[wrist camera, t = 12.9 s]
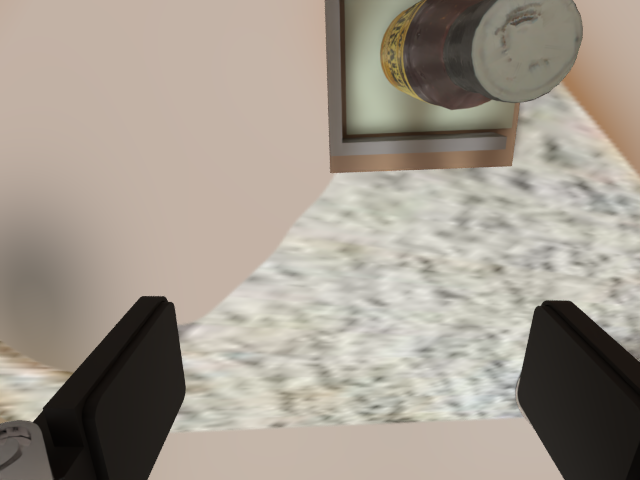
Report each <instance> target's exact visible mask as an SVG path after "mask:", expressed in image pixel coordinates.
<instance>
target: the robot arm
mask: <svg viewBox="0 0 640 480" xmlns="http://www.w3.org/2000/svg"><path fill="white" fill-rule="evenodd" d="M185 389H186V387H185V378H184V371H183V364H182V357H181V350H180V342H179V335H178V328H177V321H176V314H175V308H174V304H173V303H172V302H168V301H167V299H166V297H164V296H162V297H161V296H142V297H140V298H139V299H138V301H137V302H136V303H135V304H134V305H133V306H132V307H131V308H130V310H129V311H128V312H127V313H126V314H125V315H124V316H123V318H122V319H121V320H120V321H119V322H118V323H117V324H116V326H115V327H114V328H113V329H112V330H111V331H110V332H109V333H108V335H107V336H106V337H105V338H104V339H103V340H102V341H101V343H100V344H99V345H98V346H97V347H96V348H95V350H94V351H93V352H92V353H91V354H90V355H89V356H88V357H87V358H86V360H85V361H84V362H83V363H82V364H81V365H80V366H79V368H78V369H77V370H76V371H75V372H74V373H73V374H72V376H71V377H70V378H69V379H68V380H67V381H66V382H65V384H64V385H63V386H62V387H61V388H60V389H59V390H58V391H57V393H56V394H55V395H54V396H53V397H52V398H51V399H50V401H49V402H48V403H47V404H46V405H45V406H44V407H43V411H42V412H41V413H40V415H39V416H38V417H37V418H36V419H35V420H34V422H31V421H22V420H17V421H10V422H5V423H1V424H0V480H147V479H148V477H149V475H150V473H151V470H152V468H153V466H154V464H155V462H156V459H157V457H158V455H159V453H160V451H161V449H162V446H163V444H164V442H165V440H166V438H167V435H168V433H169V431H170V429H171V427H172V425H173V422H174V420H175V418H176V416H177V414H178V411H179V409H180V407H181V405H182V403H183V400H184V397H185ZM516 401H517V405H518V408H519V409H520V411H521V413H522V415H523V416H524V417H525V419H526V420H527V421H528V422H529V423H530V424H532V426H533V428H534V429H535V431H536V433H537V434H538V436H539V438H540V440H541V441H542V443H543V445H544V446H545V448H546V450H547V451H548V453H549V455H550V456H551V458H552V460H553V461H554V463H555V465H556V466H557V468H558V470H559V471H560V473H561V475H562V476H563V478H564V479H565V480H640V362H639V361H638V360H636V359H635V358H634V357H633V356H632V355H631V354H630V353H629V352H627V351H626V350H625V349H624V348H623V347H622V346H621V345H620V344H619V343H617V342H616V341H615V340H614V339H613V338H612V337H611V336H610V335H608V334H607V333H606V332H605V331H604V330H603V329H602V328H601V327H599V326H598V325H597V324H596V323H595V322H594V321H593V320H592V319H590V318H589V317H588V316H587V315H586V314H585V313H584V312H583V311H582V310H580V309H579V308H578V307H577V306H576V305H575V304H574V303H572V302H571V301H547V300H546V301H544V302H543V303H542V305H541V306H537V307H536V309H535V311H534V315H533V320H532V324H531V329H530V334H529V339H528V343H527V348H526V353H525V357H524V362H523V367H522V372H521V376H520V378H519V380H518V383H517V387H516Z"/></svg>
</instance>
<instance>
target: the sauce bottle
mask: <svg viewBox="0 0 640 480" xmlns="http://www.w3.org/2000/svg"><path fill="white" fill-rule="evenodd" d="M582 35H583V27H582V20H581V15H580V13H579V11H578V10H577V7H576V4H575V3H574V2H573V0H422V1H420V2H418V3H416V4H415V5H413V6H412V7H410V8H408V9H407V10H405V11H403V12H401V13H400V14H399V15H398V16H397V17H396V18H395V19H394V20H393V21H392V22H391V24H390V25H389V26H388V28H387V30H386V32H385V34H384V36H383V39H382V43H381V49H380V63H381V67H382V70H383V72H384V74H385V76H386V78H387V79H388V81H389V82H390V83H391V84H392V86H394V87H395V88H396V89H398V90H400V91H402V92H404V93H406V94H408V95H410V96H412V97H414V98H417V99H419V100H421V101H424V102H426V103H429V104H433V105H436V106H441V107H444V108H447V109H450V110H457V109H468V108H472V107H476V106H479V105H482V104H484V103H486V102H489V101H491V100H495V101H501V102H509V103H520V102H527V101H531V100H534V99H536V98H539V97H540V96H542V95H545V94H547V93H549V92H550V91H551V90H552V89H553V88H554V87H555V86H557V85H558V84H559V83H560V82H561V81H562V80H563V79H564V78H565V76H566V75H567V74H568V73H569V71H570V70H571V68H572V66H573V65H574V62H575V60H576V58H577V54H578V51H579V48H580V45H581V41H582Z"/></svg>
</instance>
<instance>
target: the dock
mask: <svg viewBox="0 0 640 480" xmlns="http://www.w3.org/2000/svg"><path fill="white" fill-rule="evenodd" d="M420 1H422V0H325V22H326V52H327V53H326V54H327V83H328V84H327V85H328V116H329V148H330V173H344V172H371V171H397V170H424V169H450V168H476V167H503V166H512V161H513V153H514V145H515V137H516V129H517V121H518V113H519V105H520V103H509V102H501V101H495V100H491V101H489V102H486V103H484V104H482V105H479V106H476V107H472V108H468V109H457V110H450V109H447V108H444V107H441V106H436V105H433V104H429V103H426V102H424V101H421V100H419V99H417V98H414V97H412V96H410V95H408V94H406V93H404V92H402V91H400V90H398V89H396V88H395V87H394V86H392V84H391V83H390V82H389V81H388V79H387V78H386V76H385V74H384V72H383V70H382V67H381V63H380V49H381V43H382V39H383V36H384V34H385V32H386V30H387V28H388V26H389V25H390V24H391V22H392V21H393V20H394V19H395V18H396V17H397V16H398V15H399V14H400V13H401V12H403V11H405V10H407V9H408V8H410V7H412V6H413V5H415V4H416V3H418V2H420Z"/></svg>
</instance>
